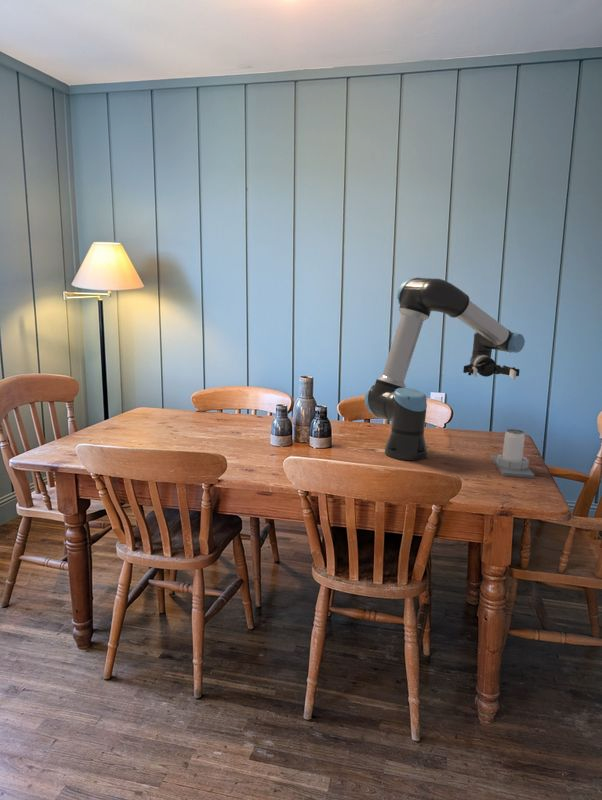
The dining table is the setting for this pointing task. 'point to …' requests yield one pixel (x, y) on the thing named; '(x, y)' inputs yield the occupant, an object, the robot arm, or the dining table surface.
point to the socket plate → (513, 467)
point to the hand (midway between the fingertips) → (495, 374)
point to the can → (513, 445)
